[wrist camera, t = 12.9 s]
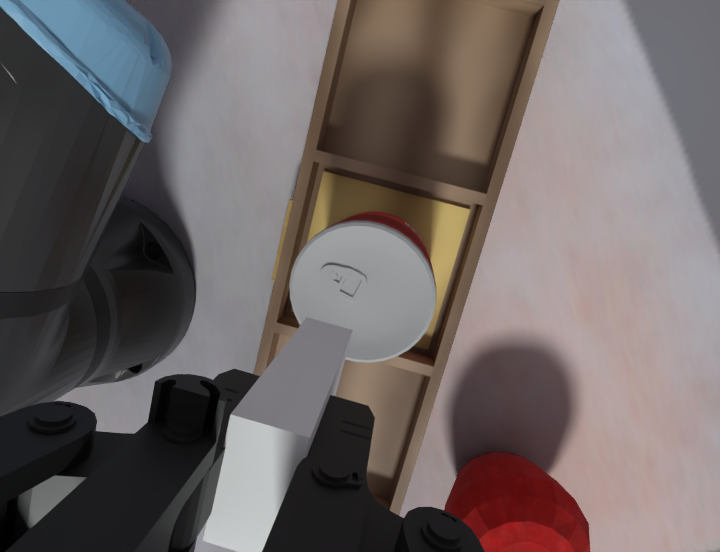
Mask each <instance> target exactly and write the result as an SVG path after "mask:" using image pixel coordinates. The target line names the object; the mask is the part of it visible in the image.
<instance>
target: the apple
mask: <svg viewBox="0 0 720 552" xmlns="http://www.w3.org/2000/svg"><path fill="white" fill-rule="evenodd" d="M444 511H447V512H449V513H450V514H453V515H454V516H456V517H458V518H460V519H461V520H462V521H463V522H464V523H465V524H467V525H468V526H469V527H470V528H471V529H472V530H473V532H474V533H475V535H476V536H477V538H478V539H479V541H480V543H481V545H482V547H483V549H484V551H485V552H590V540H589V524H588V522H587V520H586V518H585V517H584V515H583V513H582V511H581V509H580V508H579V506H578V504H577V502H576V501H575V499H574V498H573V497H572V496H571V495H570V494H569V493H568V492H567V491H566V490H565V489H564V488H563V487H562V486H561V485H560V484H559V483H558V482H557V481H556V480H555V479H553V478H552V477H551V476H549V475H548V474H547V473H545V472H544V471H543V470H542V469H540V468H539V467H538V466H536V465H535V464H533V463H532V462H530V461H529V460H527V459H526V458H524V457H522V456H518V455H514V454H510V453H507V452H498V453H486V454H484V455H481V456H478V457H476V458H473V459H471V460H470V461H469V462H468V463H467V464H466V465H465V466H464V467H463V468H462V469H461V470H460V471H459V473H458V475H457V478H456V480H455V483H454V485H453V488H452V490H451V493H450V495H449V497H448V500H447V502H446V505H445V510H444Z"/></svg>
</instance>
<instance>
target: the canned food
mask: <svg viewBox="0 0 720 552" xmlns="http://www.w3.org/2000/svg"><path fill="white" fill-rule="evenodd" d="M289 286H290V300H291V304H292V308H293V312H294V314H295V316H296V318H297V320H298V322H299V324H300V325H301V324H302V323H303V321H304V320H305V319H306V318H307V317H308V318H312V319H315V320H319V321H322V322H326V323H330V324H333V325H337V326H340V327H344V328H347V329H351V330H353V332H352V336H351V339H350V343H349V347H348V351H347V355H346V358H345V359H346V360H350V361H354V362H367V363H371V362H379V361H385V360H388V359H391V358H394V357H397V356H399V355H400V354H402V353H404V352H406V351H408V350H409V349H410V348H411V347H412V346H414V345H415V344H416V343H417V342H418V341H419V340H420V339H421V337H422V336H423V335H424V333H425V332H426V331H427V329H428V327H429V324H430V322H431V320H432V318H433V315H434V310H435V306H436V282H435V277H434V272H433V268H432V264H431V261H430V257H429V253H428V250H427V248H426V245H425V243H424V241H423V239H422V238H421V236H420V235H419V233H418V232H417V231H416V230H415V229H414V228H413V227H412V226H411V225H410V224H409V223H407V222H406V221H404V220H403V219H401V218H399V217H397V216H394V215H392V214H388V213H384V212H371V211H369V212H364V213H359V214H356V215H353V216H351V217H348V218H346V219H344V220H342V221H339V222H337V223H335V224H333V225H331V226H329V227H327V228H326V229H324V230H322V231H321V232H319V233H318V234H316V235H315V236H314V237H313V238H312V239H311V240H310V241H309V242H308V243H307V244H306V245H305V246H304V248H303V249H302V251H301V252H300V254H299V255H298V257H297V258H296V261H295V263H294V266H293V269H292V271H291V278H290V284H289Z"/></svg>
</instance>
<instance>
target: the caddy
mask: <svg viewBox="0 0 720 552" xmlns="http://www.w3.org/2000/svg"><path fill="white" fill-rule="evenodd" d="M559 1H560V0H338V2H337V6H336V11H335V15H334V20H333V24H332V29H331V33H330V37H329V42H328V46H327V51H326V55H325V60H324V64H323V69H322V73H321V77H320V82H319V86H318V91H317V95H316V100H315V104H314V109H313V113H312V118H311V122H310V126H309V131H308V135H307V140H306V144H305V149H304V153H303V158H302V162H301V167H300V171H299V175H298V180H297V184H296V189H295V193H294V198H293V199H291V200H289V204H288V208H287V213H286V217H285V222H284V226H283V231H282V235H281V240H280V244H279V249H278V253H277V258H276V262H275V267H274V271H273V276H272V280H274V281H275V282H274V287H273V291H272V296H271V300H270V305H269V309H268V313H267V318H266V322H265V327H264V331H263V336H262V340H261V345H260V349H259V353H258V358H257V362H256V367H255V371H254V375H258V376H261V375H262V374H263V372H264V371H265V370H266V368H267V367H268V366H269V365H270V363H271V362H272V361H273V360H274V358H275V357H276V356H277V354H278V353H279V352H280V351H281V349H282V348H283V347H284V346H285V344H286V343H287V342H288V340H289V339H290V338H291V337H292V335H293V334H294V333H295V332H296V330H297V329H298V328H299V326H300V324H299V322H298V320H297V318H296V316H295V314H294V312H293V308H292V304H291V300H290V286H289V284H290V278H291V271H292V269H293V266H294V263H295V261H296V258H297V257H298V255H299V254H300V252H301V251H302V249H303V248H304V246H305V245H306V244H307V243H308V242H309V241H310V240H311V239H312V238H313V237H314V236H315V235H316V234H318V233H319V232H321V231H322V230H324V229H326V228H327V227H329V226H331V225H333V224H335V223H337V222H339V221H342V220H344V219H346V218H348V217H351V216H353V215H356V214H359V213H364V212H369V211H371V212H384V213H388V214H392V215H394V216H397V217H399V218H401V219H403V220H404V221H406V222H407V223H409V224H410V225H411V226H412V227H413V228H414V229H415V230H416V231H417V232H418V233H419V235H420V236H421V238H422V239H423V241H424V243H425V245H426V248H427V250H428V253H429V257H430V261H431V264H432V268H433V272H434V277H435V282H436V306H435V310H434V315H433V318H432V320H431V322H430V324H429V327H428V329H427V331H426V332H425V333H424V335H423V336H422V337H421V339H420V340H419V341H418V342H417V343H416V344H415V345H414V346H412V347H411V348H410V349H409V350H408V351H406V352H404V353H402V354H400V355H399V356H397V357H394V358H391V359H388V360H385V361H379V362H371V363H367V362H354V361H350V360H346V359H345V362H344V366H343V370H342V373H341V377H340V381H339V385H338V389H337V392H336V397H340V398H343V399H347V400H350V401H354V402H357V403H361V404H364V405H368V406H369V408H370V409H371V411H372V413H373V415H374V417H375V421H374V427H373V434H372V440H371V447H370V453H369V460H368V466H367V473H366V477H367V484H368V489H369V491H370V493H371V494H372V495H373V497H374V498H375V499H376V500H377V501H378V502H379V503H380V504H381V505H382V506H384V507H385V508H387V509H388V510H390V511H391V512H393V513H395V514H397V515H399V514H400V511H401V507H402V504H403V501H404V498H405V495H406V491H407V488H408V485H409V482H410V479H411V475H412V472H413V469H414V466H415V463H416V459H417V456H418V453H419V450H420V447H421V443H422V440H423V437H424V434H425V430H426V427H427V424H428V421H429V418H430V414H431V411H432V408H433V405H434V402H435V398H436V395H437V392H438V389H439V386H440V382H441V379H442V376H443V373H444V370H445V366H446V363H447V360H448V357H449V353H450V350H451V347H452V344H453V341H454V337H455V334H456V331H457V328H458V325H459V321H460V318H461V315H462V312H463V309H464V305H465V302H466V299H467V296H468V293H469V289H470V286H471V283H472V280H473V276H474V273H475V270H476V267H477V264H478V260H479V257H480V254H481V251H482V248H483V244H484V241H485V238H486V235H487V232H488V228H489V225H490V222H491V219H492V216H493V212H494V209H495V206H496V203H497V199H498V196H499V193H500V190H501V187H502V183H503V180H504V177H505V174H506V171H507V167H508V164H509V161H510V158H511V155H512V151H513V148H514V145H515V142H516V139H517V135H518V132H519V129H520V126H521V123H522V119H523V116H524V113H525V110H526V106H527V103H528V100H529V97H530V94H531V90H532V87H533V84H534V81H535V78H536V74H537V71H538V68H539V65H540V62H541V58H542V55H543V52H544V49H545V46H546V42H547V39H548V36H549V33H550V29H551V26H552V23H553V20H554V17H555V13H556V10H557V7H558V4H559Z"/></svg>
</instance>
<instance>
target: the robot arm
mask: <svg viewBox="0 0 720 552" xmlns="http://www.w3.org/2000/svg"><path fill="white" fill-rule="evenodd" d="M171 71H172V60H171V55H170V51H169V48H168V46H167V44H166V41H165V40H164V38H163V37H162V35H161V34H160V32H159V31H158V30H157V29H156V27H155V26H154V25H153V24H152V23H151V22H150V21H148V20H147V19H146V18H145V17H144V16H143V15H142V14H141V13H139V12H138V11H137V10H136V9H135V8H134V7H132V6H131V5H130V4H129V3H128V2H126V1H125V0H0V552H194V549H195V544H196V540H197V536H198V534H199V533H200V531H201V529H202V528H203V526H204V524H205V523H206V521H207V524H206V529H205V534H204V538H203V541H205V542H208V543H211V544H215V545H218V546H221V547H224V548H228V549H231V550H234V551H237V552H485V551H484V549H483V547H482V545H481V543H480V541H479V539H478V538H477V536H476V535H475V533H474V532H473V530H472V529H471V528H470V527H469V526H468V525H467V524H465V523H464V522H463V521H462V520H461V519H460V518H458V517H456V516H454V515H453V514H450V513H449V512H447V511H444V510H440V509H437V508H433V507H417V508H415V509H413V510H411V511H408V513H407V514H406V516H405V518H402V517H400V516H399V515H397V514H395V513H393V512H391V511H390V510H388V509H387V508H385V507H384V506H382V505H381V504H380V503H379V502H378V501H377V500H376V499H375V498H374V497H373V495H372V494H371V493H370V491H369V489H368V484H367V477H366V473H367V466H368V460H369V453H370V447H371V440H372V434H373V427H374V421H375V417H374V415H373V413H372V411H371V409H370V408H369V406H368V405H364V404H361V403H357V402H354V401H350V400H347V399H343V398H340V397H336V392H337V389H338V385H339V381H340V377H341V373H342V370H343V366H344V362H345V358H346V355H347V351H348V347H349V343H350V339H351V336H352V332H353V330H351V329H347V328H344V327H340V326H337V325H333V324H330V323H326V322H322V321H319V320H315V319H312V318H308V317H307V318H306V319H305V320H304V321H303V323H302V324H301V325H300V326H299V328H298V329H297V330H296V332H295V333H294V334H293V335H292V337H291V338H290V339H289V340H288V342H287V343H286V344H285V346H284V347H283V348H282V349H281V351H280V352H279V353H278V354H277V356H276V357H275V358H274V360H273V361H272V362H271V363H270V365H269V366H268V367H267V368H266V370H265V371H264V372H263V374H262V375H261V376H258V375H254V374H251V373H247V372H244V371H240V370H237V369H232V370H230V371H227V372H224V373H221V374H219V375H218V376H217V377H216V378H215V379H214V380H211V379H209V378H206V377H202V376H197V375H190V374H177V375H171V376H166V377H163V378H161V379H159V380H157V381H155V386H154V391H153V397H152V402H151V408H150V413H149V419H148V422H147V423H146V424H145V425H144V426H143V427H142V428H141V429H140V430H139V431H137V432H136V433H135V434H123V433H110V432H99V431H96V424H97V420H96V416H95V413H93V412H92V411H91V410H89V409H88V408H87V407H84V406H81V405H78V404H75V403H71V402H64V401H55V400H56V399H58V398H59V397H61V396H63V395H64V394H66V393H67V392H69V391H71V390H72V389H74V388H77V387H84V386H91V385H98V384H105V383H112V382H118V381H123V380H126V379H130V378H132V377H135V376H137V375H139V374H142V373H144V372H145V371H147V370H149V369H150V368H152V367H153V366H154V365H156V364H157V363H159V362H160V361H162V360H163V359H165V358H166V357H167V356H168V355H169V354H170V353H171V352H172V351H174V349H175V348H176V347H177V346H178V345H179V343H180V342H181V341H182V339H183V337H184V336H185V334H186V332H187V330H188V327H189V325H190V322H191V319H192V315H193V310H194V303H195V286H194V278H193V273H192V269H191V266H190V263H189V260H188V257H187V255H186V253H185V251H184V249H183V247H182V245H181V243H180V242H179V240H178V239H177V237H176V236H175V234H174V233H173V232H172V231H171V229H170V228H169V227H168V226H167V225H166V224H165V223H164V222H163V221H162V220H161V219H160V218H159V217H158V216H157V215H155V214H154V213H153V212H151V211H150V210H148V209H147V208H145V207H144V206H142V205H140V204H138V203H136V202H134V201H132V200H129V199H126V198H123V197H120V196H121V194H122V192H123V190H124V188H125V185H126V183H127V181H128V179H129V176H130V174H131V172H132V170H133V168H134V165H135V163H136V161H137V159H138V156H139V154H140V152H141V150H142V148H143V146H144V144H145V142H146V143H149V141H150V140H151V139H152V136H153V135H152V132H151V127H152V125H153V122H154V120H155V117H156V114H157V112H158V109H159V106H160V104H161V101H162V98H163V96H164V93H165V91H166V88H167V85H168V83H169V80H170V76H171ZM53 401H54V402H53Z"/></svg>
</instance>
